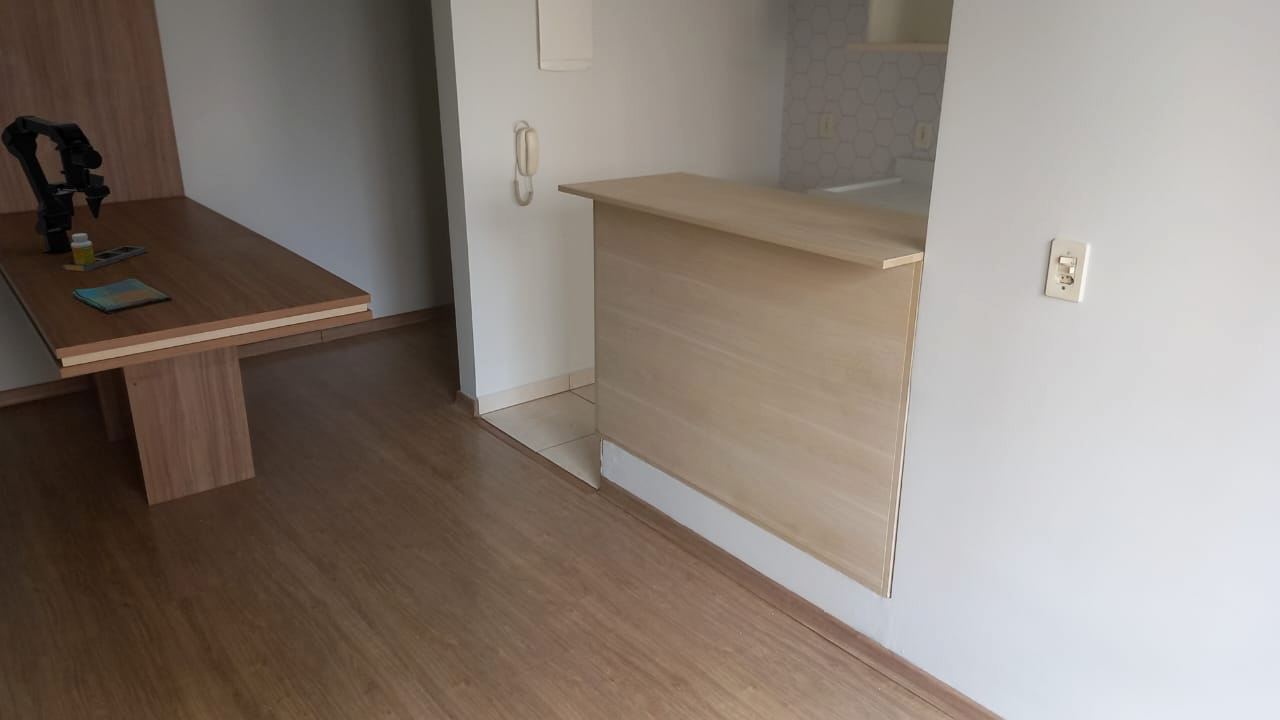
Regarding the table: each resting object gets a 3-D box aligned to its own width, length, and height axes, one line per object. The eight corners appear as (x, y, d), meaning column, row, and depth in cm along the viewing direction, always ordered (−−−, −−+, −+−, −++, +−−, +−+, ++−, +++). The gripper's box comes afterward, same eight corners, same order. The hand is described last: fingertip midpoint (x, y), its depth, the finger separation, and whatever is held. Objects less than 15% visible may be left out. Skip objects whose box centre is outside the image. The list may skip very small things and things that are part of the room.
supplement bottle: (87, 268, 271) (80, 237, 268) (71, 267, 272) (64, 236, 269) (100, 264, 276) (93, 233, 273) (85, 263, 277) (78, 232, 274)
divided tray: (63, 269, 271) (62, 264, 271) (125, 250, 293) (124, 245, 292) (86, 271, 269) (85, 266, 269) (147, 252, 291) (146, 247, 290)
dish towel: (138, 285, 259) (136, 276, 258) (174, 301, 244) (172, 292, 244) (72, 298, 247) (70, 289, 246) (106, 316, 232) (104, 307, 231)
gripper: (119, 164, 279) (129, 214, 285) (71, 160, 284) (82, 209, 289) (89, 169, 269) (100, 221, 275) (40, 166, 274) (52, 216, 279)
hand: (84, 217), depth 280 cm, fingers open, 9 cm apart
